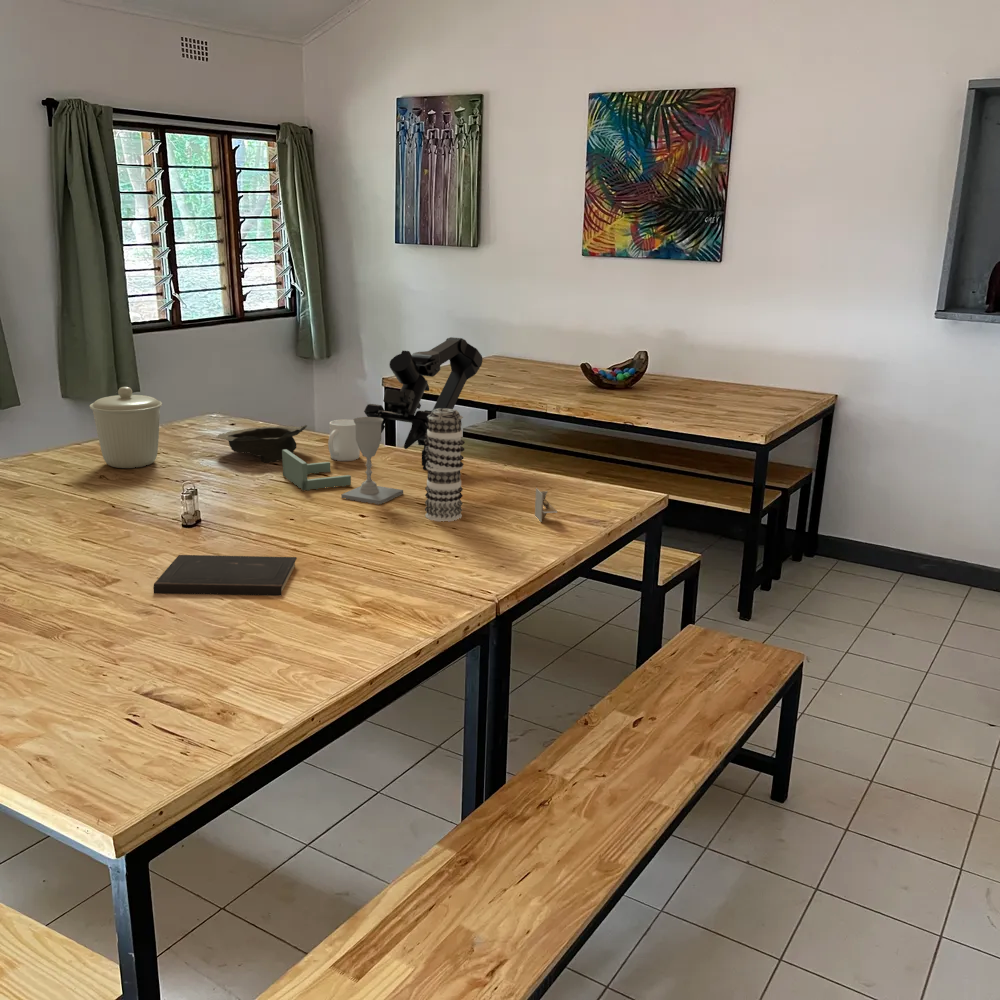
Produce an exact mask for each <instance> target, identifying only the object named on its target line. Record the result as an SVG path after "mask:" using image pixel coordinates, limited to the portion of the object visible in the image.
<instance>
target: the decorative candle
mask: <svg viewBox="0 0 1000 1000" xmlns="http://www.w3.org/2000/svg"><path fill="white" fill-rule="evenodd" d="M432 410H433V409H432ZM432 410H431V411H432ZM427 417H428V429H427V433H425V434H426V435H424V436H425V437H426V438H425V440H424V442H425V444H426V445H427V446H426V448H425V451H426V455H425V458H426V460H428V461H427V462H426V464H425V465H426V468H427V469H426V470H427V478H426V486H425V488H424V489H425V491H426V493H425V494H424V496H425V498H426V500H425V501H424V504H425V508H424V510H425V512H426V513H425V515H424V516H425V519H428V520H430V521H433V520H434V521H433V522H441V521H443V522H442V523H444V521H448V522H454V520H455V521H458V520H460V519H462V517H463V515H462V511H463V508H462V505H463V502H462V498H463V494H462V492H463V487H462V479H461V475H462V473H461V471H462V470H463V467H464V463H463V462H462V460H464V459H465V458H464V456H463V455H462V454H461V453H462V452H464V451H465V450H466V449H465V447H463V445H464V444H465V440H463V439H461V438H462V437H463V430H462V419H463V418H464V416H462V415H460V412H459V411H458V410H457V409H454V408H453V409H450V408H440V409H435V410H433V411H432V412H431V414H430V415H428V416H427ZM428 440H429V442H428ZM459 518H460V519H459ZM457 519H458V520H457Z"/></svg>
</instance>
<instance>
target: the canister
mask: <svg viewBox="0 0 1000 1000" xmlns="http://www.w3.org/2000/svg"><path fill="white" fill-rule="evenodd" d="M117 394H118V395H110V396H105V397H101V398H97V400H94V402H92V403H91V404H89V409H90V410H92V413H93V414H92V415H93V418H94V419H93V420H94V423H95V429H96V434H97V438H98V442H99V446H100V451H101V454H102V458H103V460H104V462H105V463H106V464H107V465H108V466H110V467H113V468H118V469H137V468H142V467H143V468H144V467H147V466H149V465H152V464H153V463H154V462H155V461H156V459H157V457H158V451H159V441H160V440H159V437H160V436H159V435H160V417H161V413H160V411H161V410H160V409H161V407H162V406H163V402H162V401H161V400H158V399H157V398H155V397H153V396H148V395H145V394H144V395H141V394H133V390H132V388H131V387H130V386H129V387H128V386H121V387H119V389H118V391H117ZM146 465H147V466H146ZM135 467H136V468H135Z"/></svg>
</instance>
